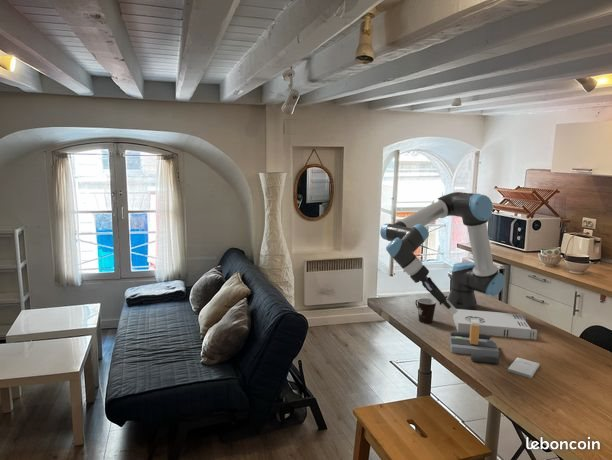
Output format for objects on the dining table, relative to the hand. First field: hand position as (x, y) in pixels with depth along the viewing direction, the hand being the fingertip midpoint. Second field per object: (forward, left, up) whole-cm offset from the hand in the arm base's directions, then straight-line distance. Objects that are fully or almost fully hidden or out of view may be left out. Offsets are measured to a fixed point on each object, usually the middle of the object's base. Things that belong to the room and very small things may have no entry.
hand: (454, 312), depth 182 cm
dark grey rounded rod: (-13, -5, -15) cm, 20 cm away
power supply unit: (-30, -13, -16) cm, 37 cm away
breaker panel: (-7, +4, -15) cm, 17 cm away
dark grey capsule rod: (-4, +15, -15) cm, 22 cm away
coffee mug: (-5, -30, -15) cm, 34 cm away
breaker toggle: (-7, +4, -12) cm, 15 cm away
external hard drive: (-15, +23, -16) cm, 32 cm away
